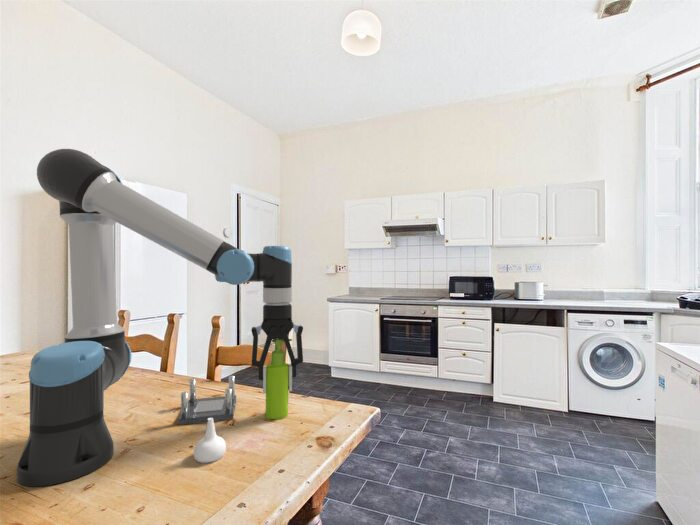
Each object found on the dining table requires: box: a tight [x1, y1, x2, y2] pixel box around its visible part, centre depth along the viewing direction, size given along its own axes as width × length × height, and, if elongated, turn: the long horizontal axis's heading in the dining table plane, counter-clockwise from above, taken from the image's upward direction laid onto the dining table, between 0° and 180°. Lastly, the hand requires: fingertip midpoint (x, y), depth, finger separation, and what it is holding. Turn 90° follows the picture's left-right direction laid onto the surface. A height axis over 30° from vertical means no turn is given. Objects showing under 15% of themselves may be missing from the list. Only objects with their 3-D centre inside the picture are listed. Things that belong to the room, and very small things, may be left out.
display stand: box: [177, 375, 237, 426], centre depth 98 cm, size 14×13×8 cm
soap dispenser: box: [265, 338, 293, 420], centre depth 96 cm, size 6×7×20 cm
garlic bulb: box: [193, 418, 227, 464], centre depth 75 cm, size 6×6×8 cm
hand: (277, 390), depth 96 cm, fingers closed on soap dispenser, 6 cm apart
